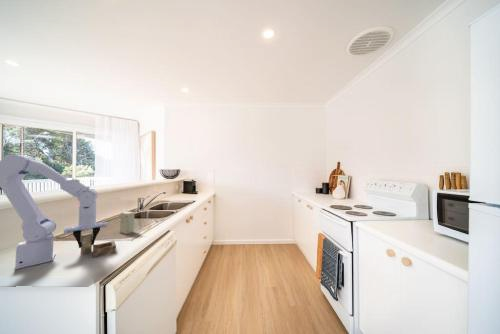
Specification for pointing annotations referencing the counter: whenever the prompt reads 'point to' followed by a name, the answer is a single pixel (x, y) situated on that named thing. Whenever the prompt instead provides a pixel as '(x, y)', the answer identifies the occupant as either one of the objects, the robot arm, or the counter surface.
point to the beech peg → (86, 243)
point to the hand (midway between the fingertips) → (86, 245)
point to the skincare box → (127, 222)
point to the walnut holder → (104, 249)
